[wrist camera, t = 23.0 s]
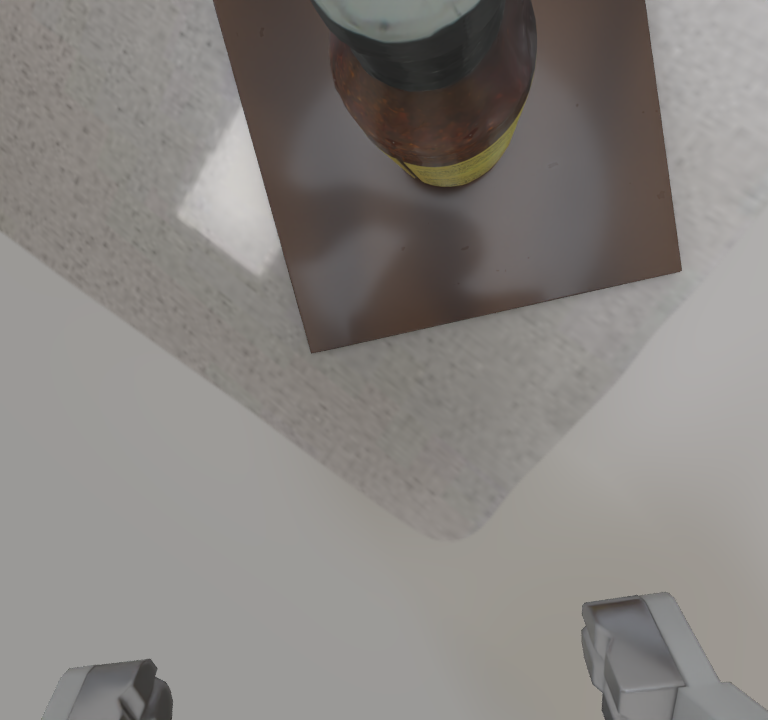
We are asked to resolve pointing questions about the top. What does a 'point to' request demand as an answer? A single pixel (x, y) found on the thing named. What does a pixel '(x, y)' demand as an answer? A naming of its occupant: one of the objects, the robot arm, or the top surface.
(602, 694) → the robot arm
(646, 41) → the board
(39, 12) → the top surface
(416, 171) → the sauce bottle
